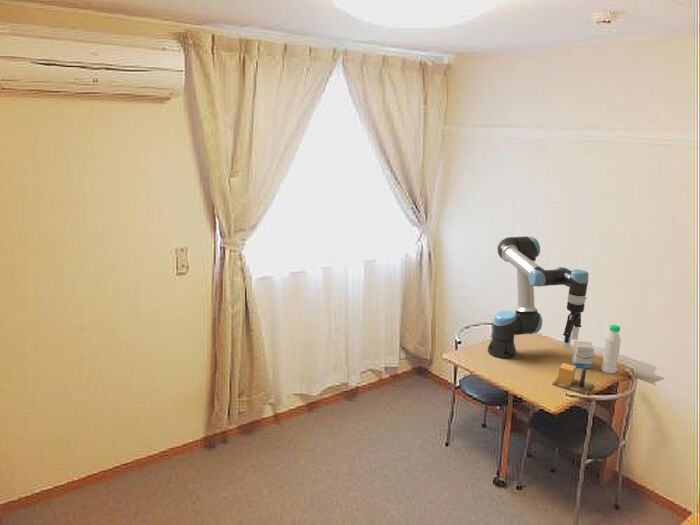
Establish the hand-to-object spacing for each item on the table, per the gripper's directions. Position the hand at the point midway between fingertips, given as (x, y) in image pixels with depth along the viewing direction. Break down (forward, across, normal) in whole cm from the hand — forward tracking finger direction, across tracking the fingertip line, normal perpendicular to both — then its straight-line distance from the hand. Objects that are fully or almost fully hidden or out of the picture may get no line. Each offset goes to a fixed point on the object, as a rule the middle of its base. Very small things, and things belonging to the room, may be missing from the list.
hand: (570, 343), depth 251 cm
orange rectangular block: (+20, 0, 0) cm, 20 cm away
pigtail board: (+21, 0, -4) cm, 21 cm away
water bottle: (+21, +28, -14) cm, 38 cm away
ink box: (+21, +27, -1) cm, 34 cm away
